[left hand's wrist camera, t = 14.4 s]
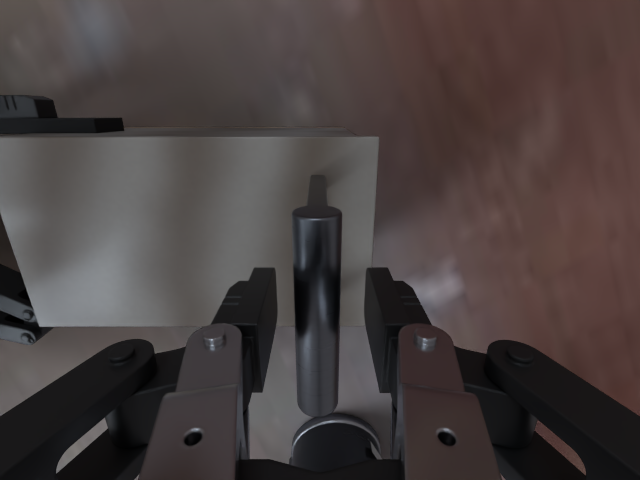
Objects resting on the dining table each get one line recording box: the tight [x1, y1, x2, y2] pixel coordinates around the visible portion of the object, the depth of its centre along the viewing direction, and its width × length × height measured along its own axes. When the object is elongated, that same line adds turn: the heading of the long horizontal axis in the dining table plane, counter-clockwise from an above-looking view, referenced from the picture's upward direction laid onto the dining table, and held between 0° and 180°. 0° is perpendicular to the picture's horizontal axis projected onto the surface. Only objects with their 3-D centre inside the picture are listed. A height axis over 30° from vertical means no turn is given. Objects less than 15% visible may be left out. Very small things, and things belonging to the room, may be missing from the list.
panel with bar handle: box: [0, 136, 379, 417], centre depth 14 cm, size 18×10×8 cm, turn 90°
